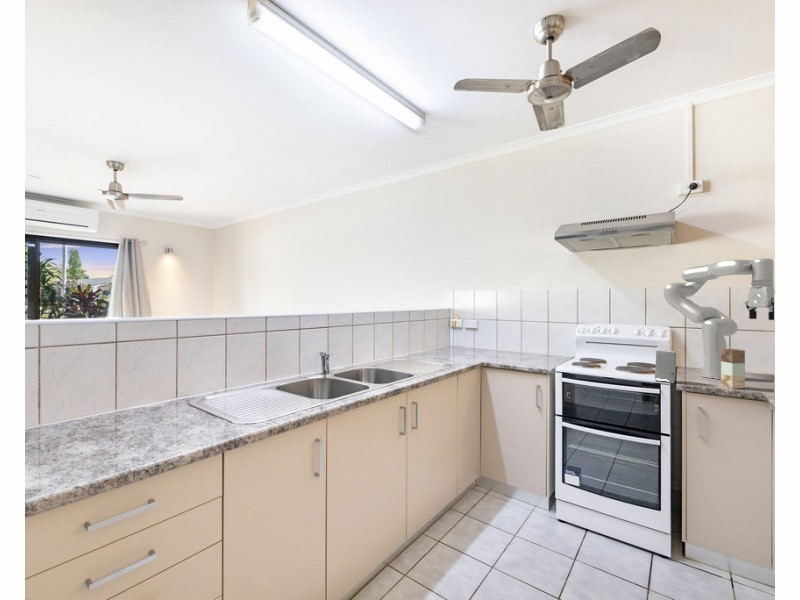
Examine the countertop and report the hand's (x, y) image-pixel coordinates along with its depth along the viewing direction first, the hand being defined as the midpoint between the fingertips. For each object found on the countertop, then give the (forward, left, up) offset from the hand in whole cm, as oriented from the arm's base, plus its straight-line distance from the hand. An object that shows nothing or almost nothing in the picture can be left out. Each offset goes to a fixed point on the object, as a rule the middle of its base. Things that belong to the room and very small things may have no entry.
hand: (762, 319), depth 182 cm
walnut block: (+3, -17, -20) cm, 27 cm away
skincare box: (-10, -40, -32) cm, 52 cm away
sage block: (+3, -17, -26) cm, 31 cm away
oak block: (+3, -17, -32) cm, 37 cm away
